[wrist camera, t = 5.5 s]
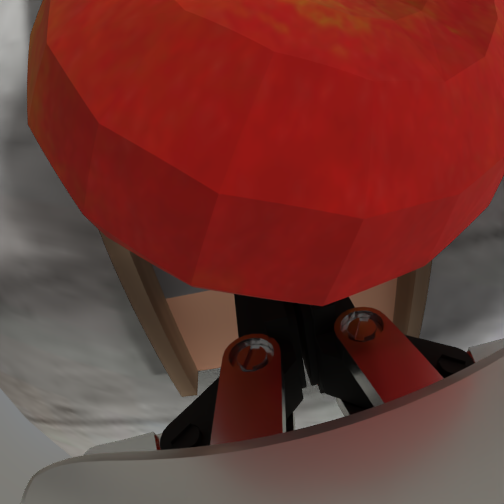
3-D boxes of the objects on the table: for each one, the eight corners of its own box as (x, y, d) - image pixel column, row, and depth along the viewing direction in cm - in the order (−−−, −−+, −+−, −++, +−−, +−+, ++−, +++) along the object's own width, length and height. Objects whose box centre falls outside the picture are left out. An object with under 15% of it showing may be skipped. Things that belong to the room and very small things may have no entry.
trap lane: (330, -143, 4) (342, -160, 2) (403, 321, 19) (417, 342, 17) (61, -99, 5) (46, -113, 3) (183, 370, 19) (181, 396, 17)
